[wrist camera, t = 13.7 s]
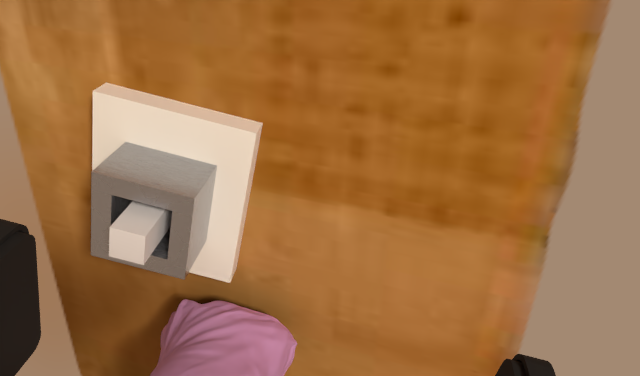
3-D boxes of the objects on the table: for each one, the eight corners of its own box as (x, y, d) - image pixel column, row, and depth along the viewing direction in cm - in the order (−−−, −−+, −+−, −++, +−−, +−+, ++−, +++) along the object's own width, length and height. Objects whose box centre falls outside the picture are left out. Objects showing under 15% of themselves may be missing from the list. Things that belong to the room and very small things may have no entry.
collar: (125, 141, 39) (91, 171, 35) (217, 165, 39) (194, 198, 34) (122, 218, 42) (90, 255, 38) (206, 240, 42) (184, 279, 38)
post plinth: (106, 82, 39) (33, 127, 31) (262, 123, 39) (229, 178, 31) (103, 233, 46) (42, 302, 38) (236, 268, 46) (203, 344, 38)
